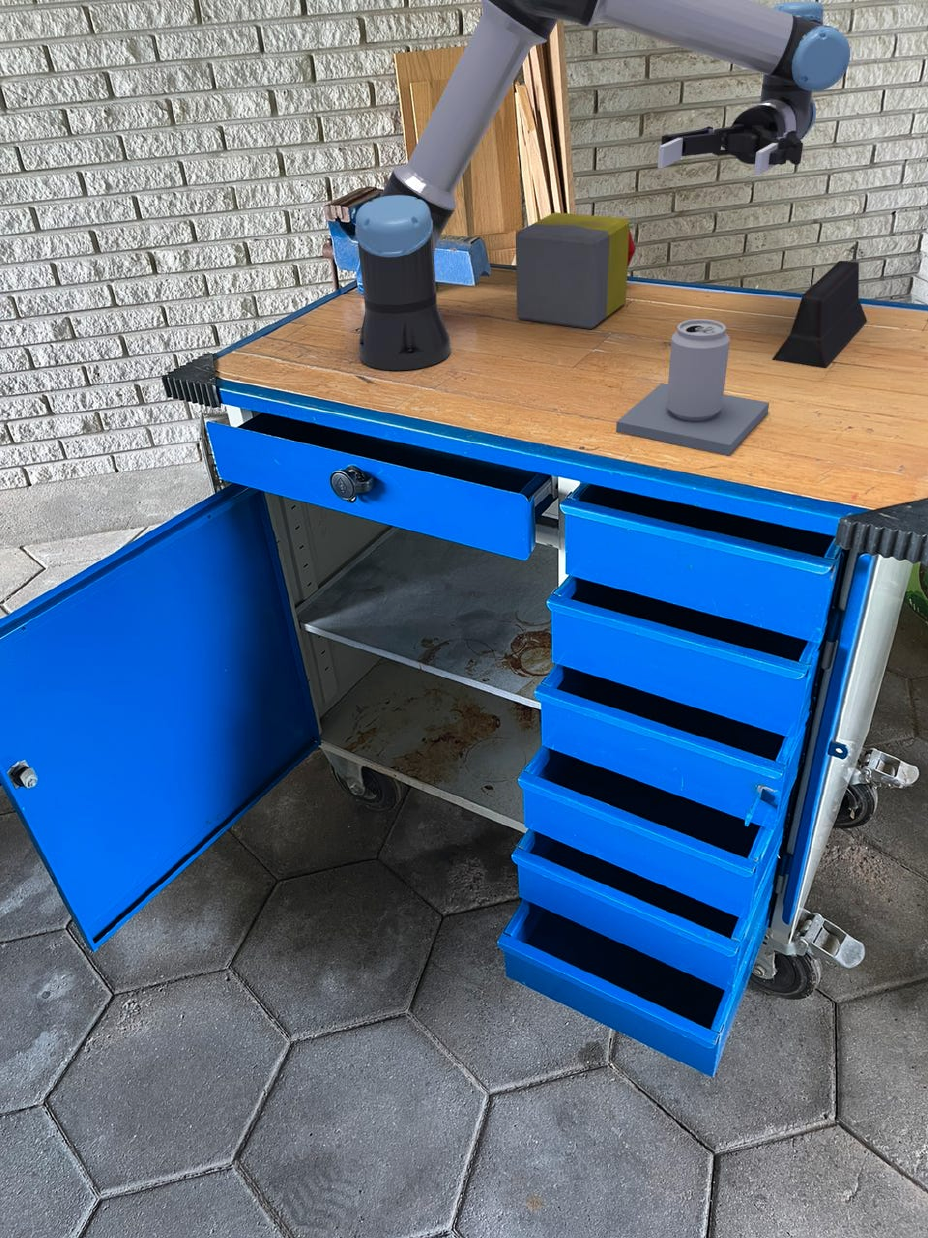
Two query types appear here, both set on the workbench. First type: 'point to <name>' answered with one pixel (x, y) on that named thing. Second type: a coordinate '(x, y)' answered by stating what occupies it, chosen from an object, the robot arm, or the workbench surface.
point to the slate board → (693, 423)
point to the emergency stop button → (572, 268)
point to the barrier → (825, 319)
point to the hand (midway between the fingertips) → (708, 160)
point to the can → (697, 369)
